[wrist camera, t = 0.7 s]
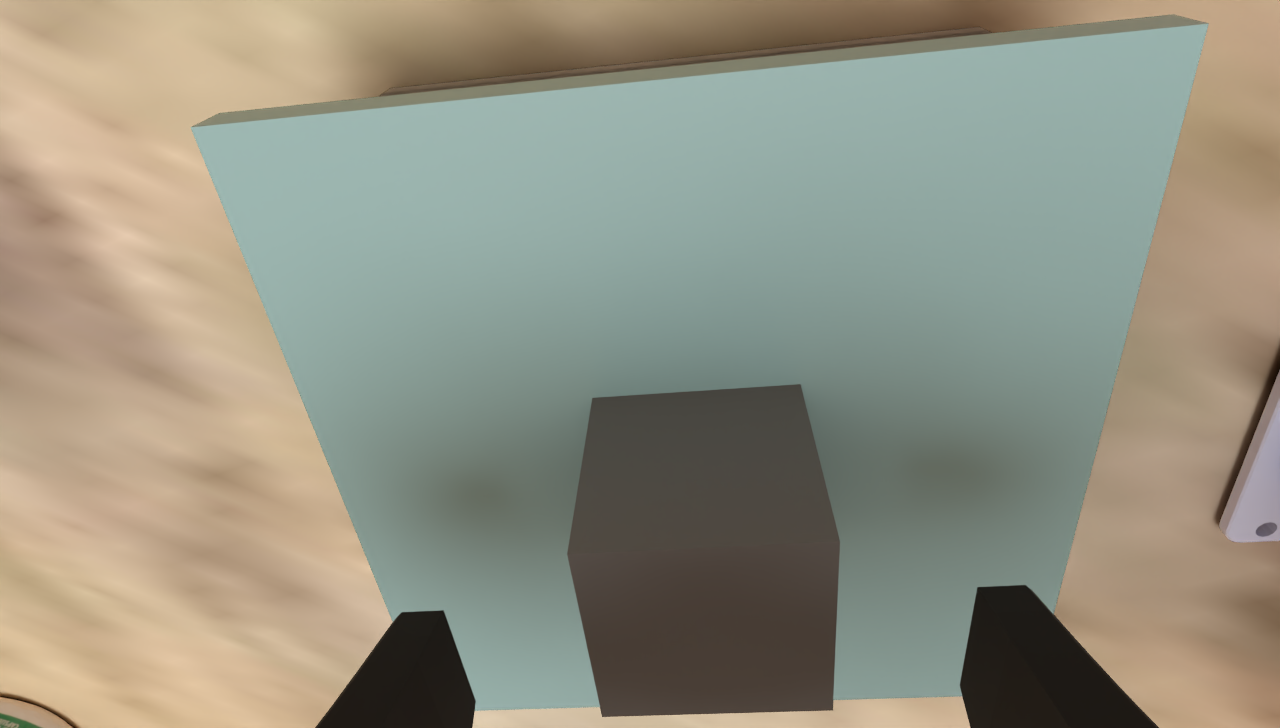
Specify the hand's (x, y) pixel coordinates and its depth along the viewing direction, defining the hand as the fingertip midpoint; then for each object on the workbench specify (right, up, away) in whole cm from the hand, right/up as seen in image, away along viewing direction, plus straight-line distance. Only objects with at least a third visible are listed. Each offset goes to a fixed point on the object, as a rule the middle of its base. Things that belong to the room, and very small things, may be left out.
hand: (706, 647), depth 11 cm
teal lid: (0, +2, +4) cm, 5 cm away
